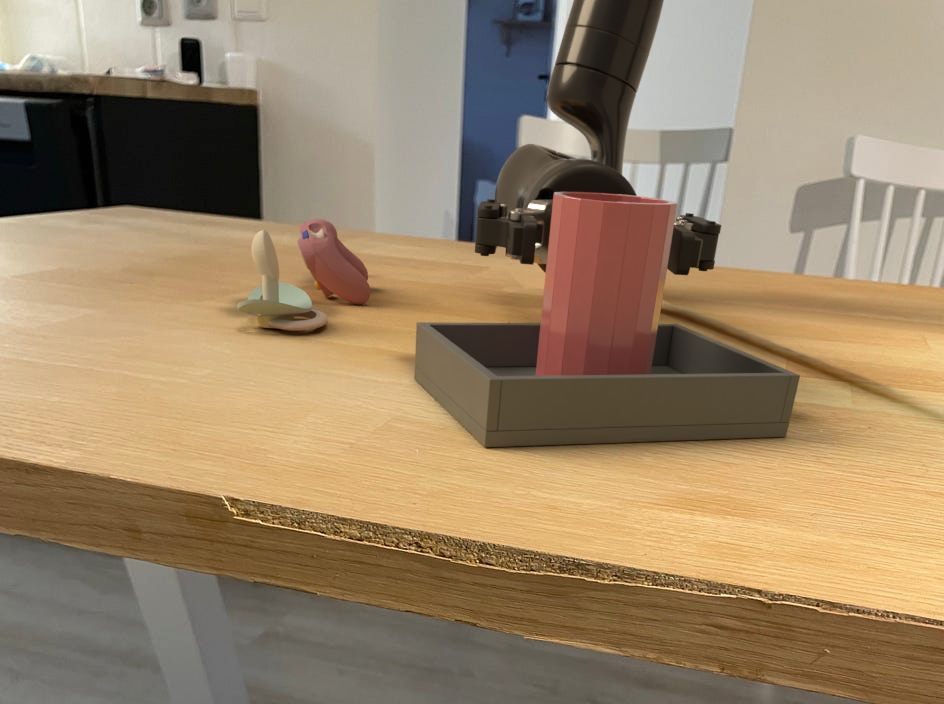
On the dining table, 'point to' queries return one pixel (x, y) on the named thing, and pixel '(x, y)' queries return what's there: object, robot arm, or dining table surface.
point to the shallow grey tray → (600, 389)
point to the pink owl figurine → (332, 262)
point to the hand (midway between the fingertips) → (608, 249)
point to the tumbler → (603, 283)
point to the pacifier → (277, 294)
